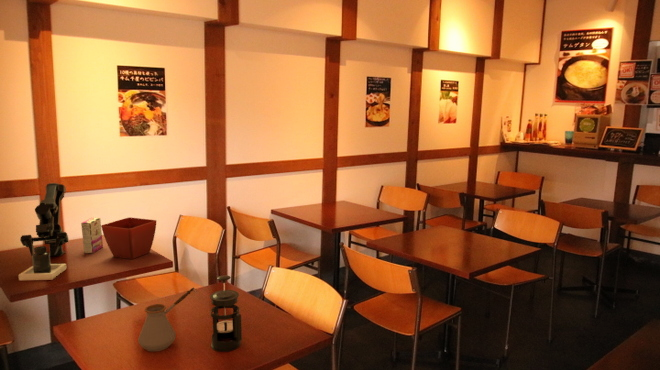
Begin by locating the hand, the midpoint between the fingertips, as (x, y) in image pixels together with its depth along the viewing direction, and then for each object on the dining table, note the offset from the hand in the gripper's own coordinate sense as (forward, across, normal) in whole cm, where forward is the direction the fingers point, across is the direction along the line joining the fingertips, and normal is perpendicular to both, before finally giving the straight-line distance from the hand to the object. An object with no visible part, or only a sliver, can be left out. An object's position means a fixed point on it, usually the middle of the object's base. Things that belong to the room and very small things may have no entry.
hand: (43, 255), depth 222 cm
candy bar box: (-15, +17, +27) cm, 35 cm away
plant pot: (-5, +36, +17) cm, 40 cm away
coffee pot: (+66, +52, -56) cm, 102 cm away
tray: (+8, 0, +3) cm, 9 cm away
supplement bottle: (+8, 0, +3) cm, 8 cm away
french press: (+73, +69, -63) cm, 119 cm away
